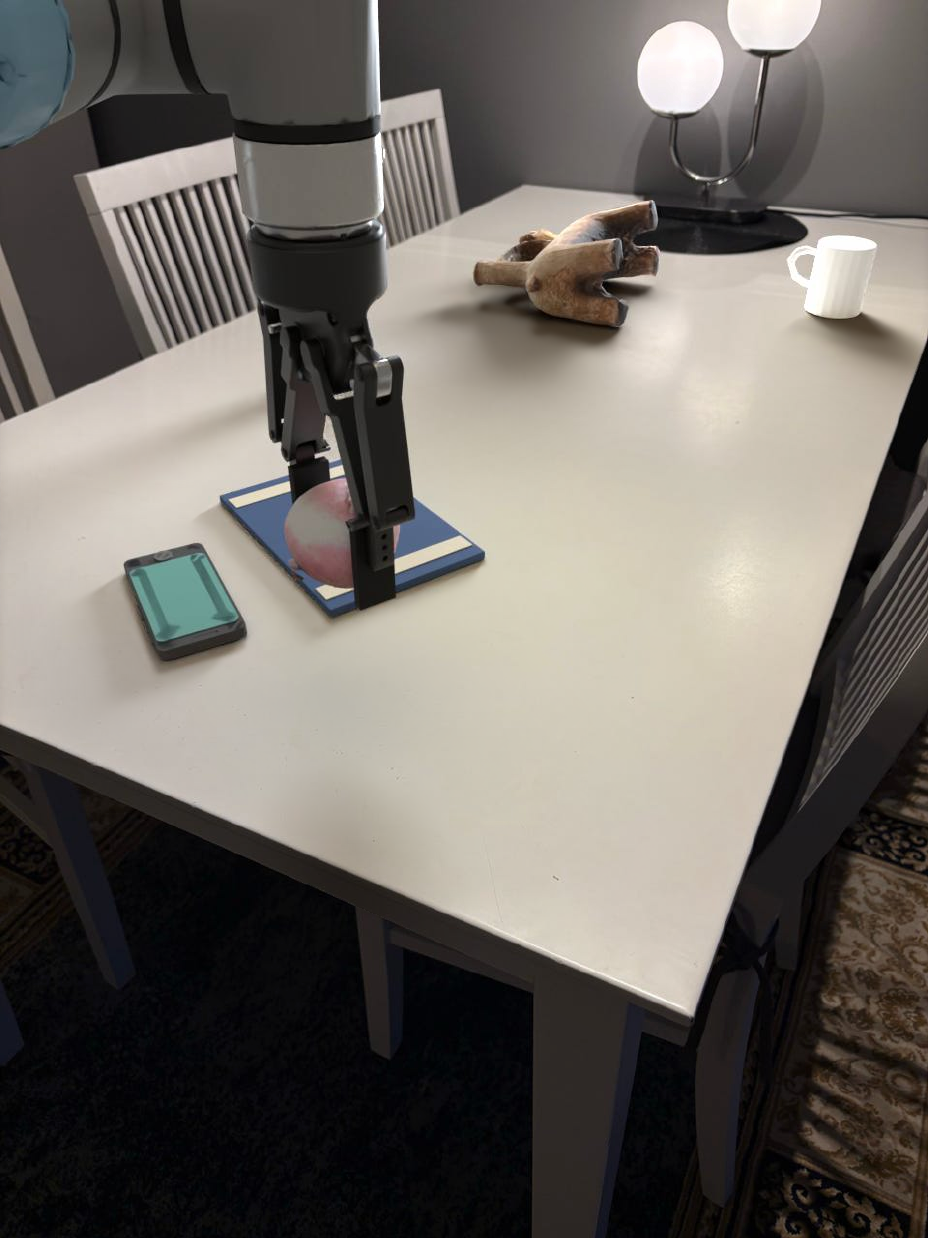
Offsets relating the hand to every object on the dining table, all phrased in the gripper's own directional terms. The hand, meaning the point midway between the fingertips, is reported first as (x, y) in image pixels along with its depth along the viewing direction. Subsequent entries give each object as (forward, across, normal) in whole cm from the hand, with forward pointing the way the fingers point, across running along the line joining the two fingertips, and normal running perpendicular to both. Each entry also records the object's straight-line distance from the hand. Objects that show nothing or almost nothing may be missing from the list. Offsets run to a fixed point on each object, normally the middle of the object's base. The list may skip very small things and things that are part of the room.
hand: (344, 571), depth 63 cm
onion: (0, 0, 0) cm, 1 cm away
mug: (+10, +37, -101) cm, 108 cm away
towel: (+11, +21, -11) cm, 26 cm away
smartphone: (+11, +19, +7) cm, 23 cm away
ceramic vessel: (+11, +65, -74) cm, 99 cm away
